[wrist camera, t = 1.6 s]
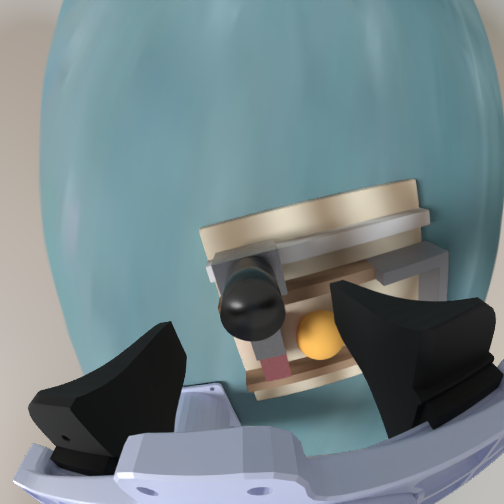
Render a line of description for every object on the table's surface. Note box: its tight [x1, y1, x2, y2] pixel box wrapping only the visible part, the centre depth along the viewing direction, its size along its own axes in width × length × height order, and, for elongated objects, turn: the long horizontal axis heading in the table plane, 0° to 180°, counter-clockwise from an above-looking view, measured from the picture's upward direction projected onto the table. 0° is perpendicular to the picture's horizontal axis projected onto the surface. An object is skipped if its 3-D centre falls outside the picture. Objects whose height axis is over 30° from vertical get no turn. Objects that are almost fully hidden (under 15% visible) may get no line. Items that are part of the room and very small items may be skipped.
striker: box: [211, 238, 292, 382], centre depth 17 cm, size 4×10×8 cm, turn 14°
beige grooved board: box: [199, 179, 430, 401], centre depth 22 cm, size 18×18×3 cm
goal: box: [365, 241, 449, 301], centre depth 20 cm, size 6×9×3 cm
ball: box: [296, 310, 344, 360], centre depth 21 cm, size 4×4×4 cm
